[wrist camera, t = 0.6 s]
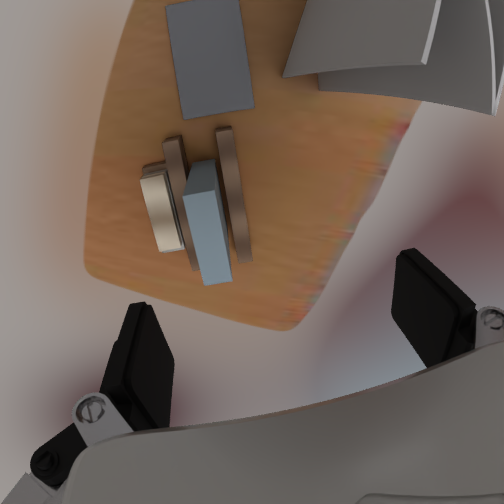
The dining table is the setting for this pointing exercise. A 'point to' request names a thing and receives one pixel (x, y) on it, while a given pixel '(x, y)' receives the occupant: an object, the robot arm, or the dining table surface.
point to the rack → (232, 186)
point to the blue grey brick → (208, 222)
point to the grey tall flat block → (405, 49)
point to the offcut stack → (162, 207)
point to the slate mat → (209, 57)
